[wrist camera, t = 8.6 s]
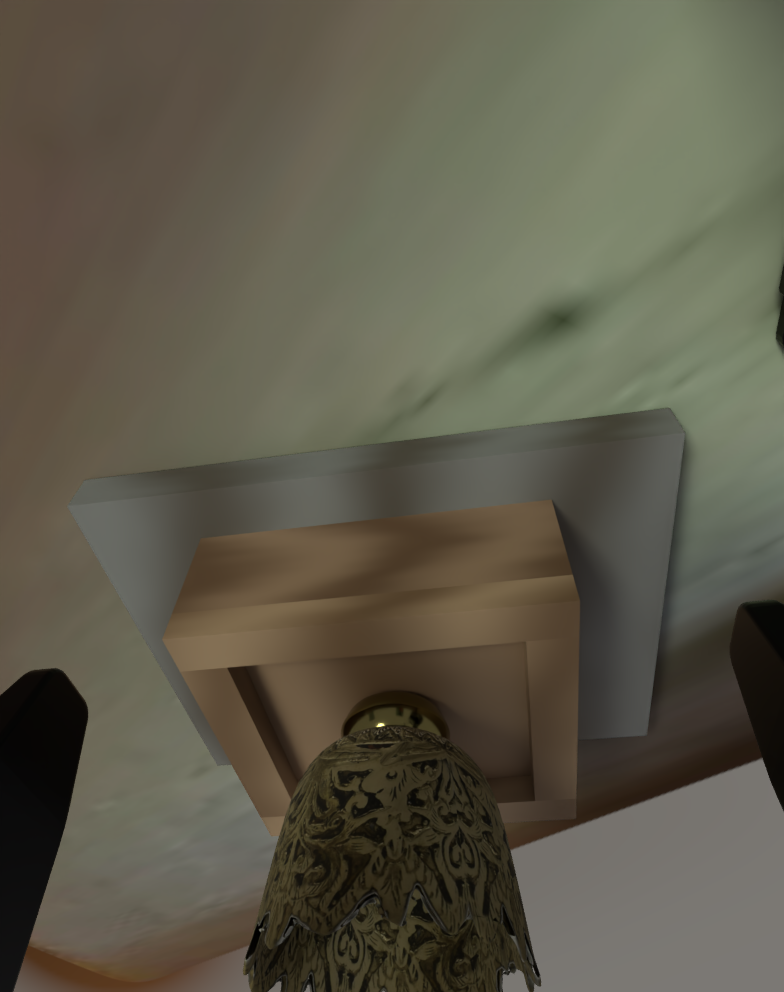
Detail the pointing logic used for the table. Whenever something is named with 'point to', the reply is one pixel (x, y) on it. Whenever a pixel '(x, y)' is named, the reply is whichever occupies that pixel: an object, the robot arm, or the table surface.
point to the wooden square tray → (407, 594)
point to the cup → (391, 867)
